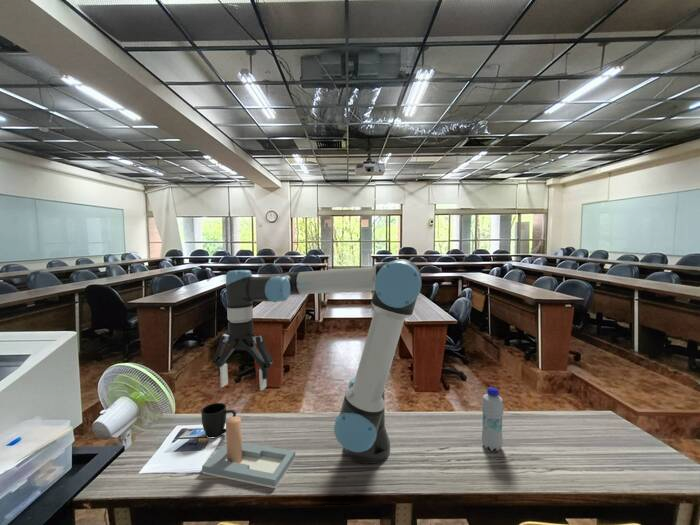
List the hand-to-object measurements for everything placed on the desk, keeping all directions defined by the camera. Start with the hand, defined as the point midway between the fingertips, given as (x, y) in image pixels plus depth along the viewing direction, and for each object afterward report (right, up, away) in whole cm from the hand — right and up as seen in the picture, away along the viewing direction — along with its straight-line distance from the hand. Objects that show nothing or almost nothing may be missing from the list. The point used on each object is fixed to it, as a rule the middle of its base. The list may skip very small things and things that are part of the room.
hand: (243, 387), depth 101 cm
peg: (-2, -23, -1) cm, 23 cm away
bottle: (+81, -22, +6) cm, 84 cm away
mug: (-13, -23, +15) cm, 30 cm away
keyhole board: (+3, -23, -2) cm, 24 cm away
